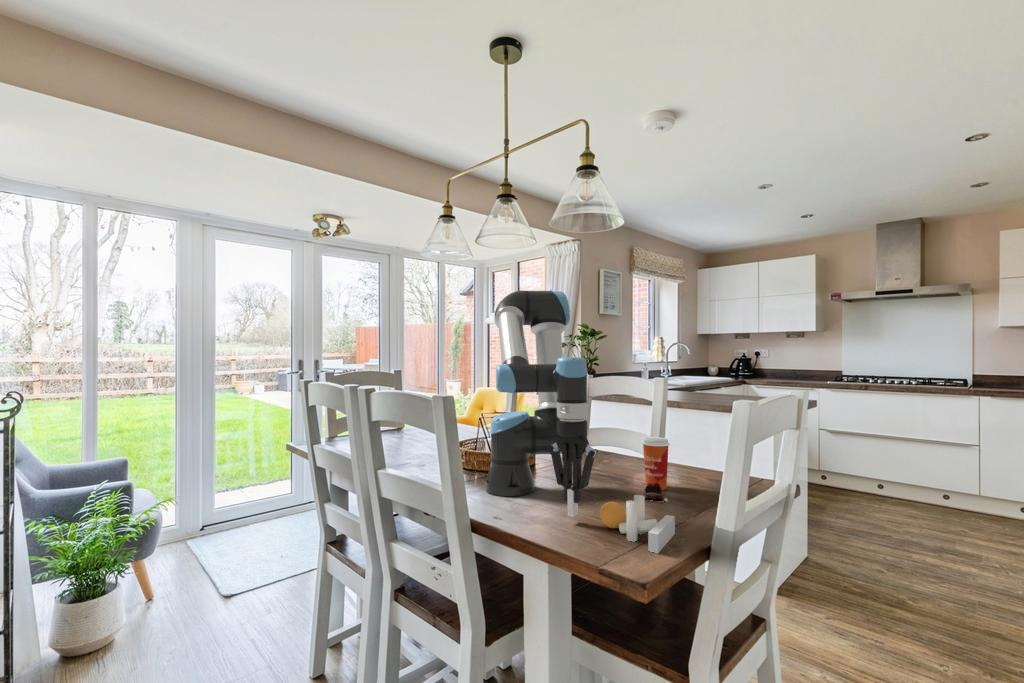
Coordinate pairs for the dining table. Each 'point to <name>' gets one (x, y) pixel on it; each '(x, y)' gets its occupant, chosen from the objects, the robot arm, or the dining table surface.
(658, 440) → the coffee cup
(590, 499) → the dining table surface
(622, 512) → the ball
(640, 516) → the pin
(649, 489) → the dark piece
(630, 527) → the pin
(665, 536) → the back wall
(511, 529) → the dining table surface
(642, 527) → the front pin
